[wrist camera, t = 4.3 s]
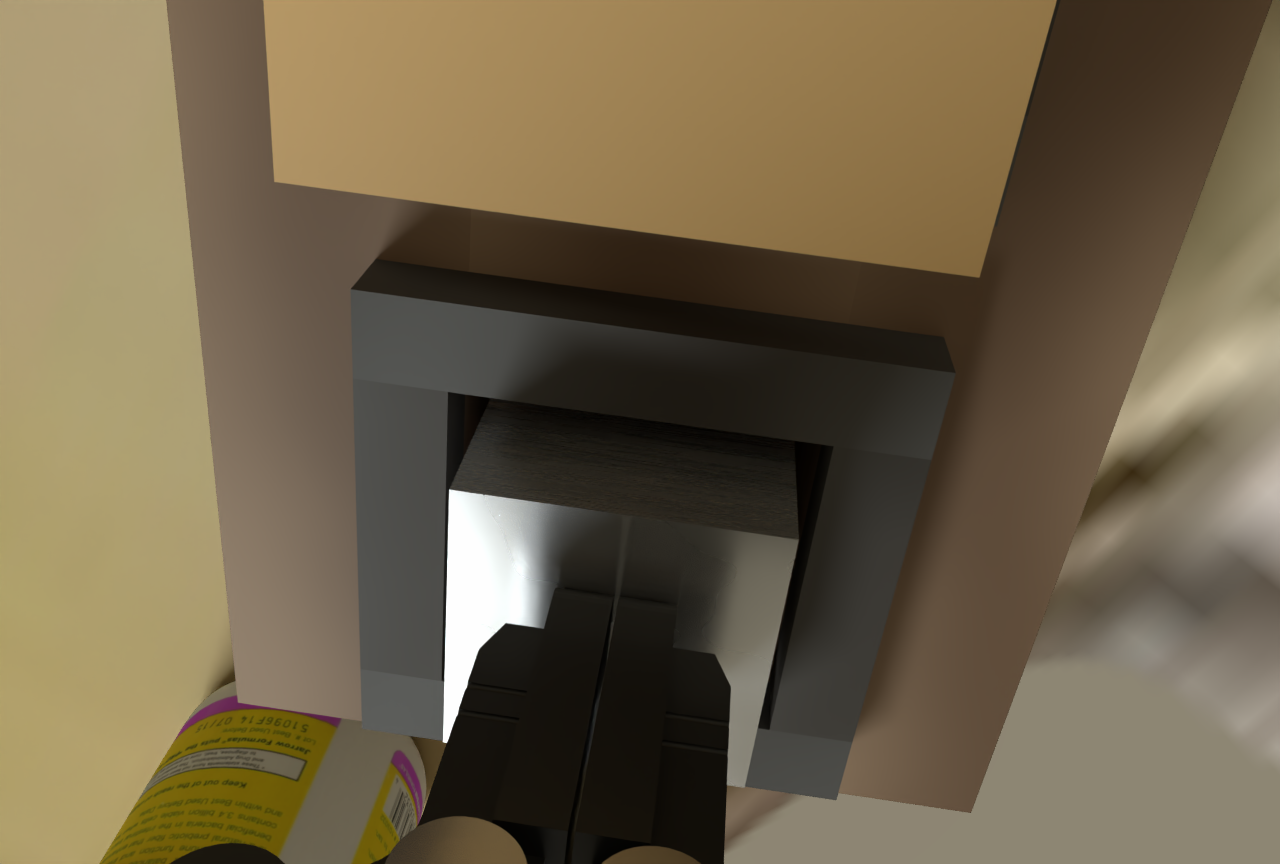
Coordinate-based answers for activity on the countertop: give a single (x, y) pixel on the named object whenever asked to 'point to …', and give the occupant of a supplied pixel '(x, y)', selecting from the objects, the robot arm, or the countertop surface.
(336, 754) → the supplement bottle
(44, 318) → the countertop surface
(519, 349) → the walnut block
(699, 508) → the grey metal peg
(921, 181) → the ochre peg
